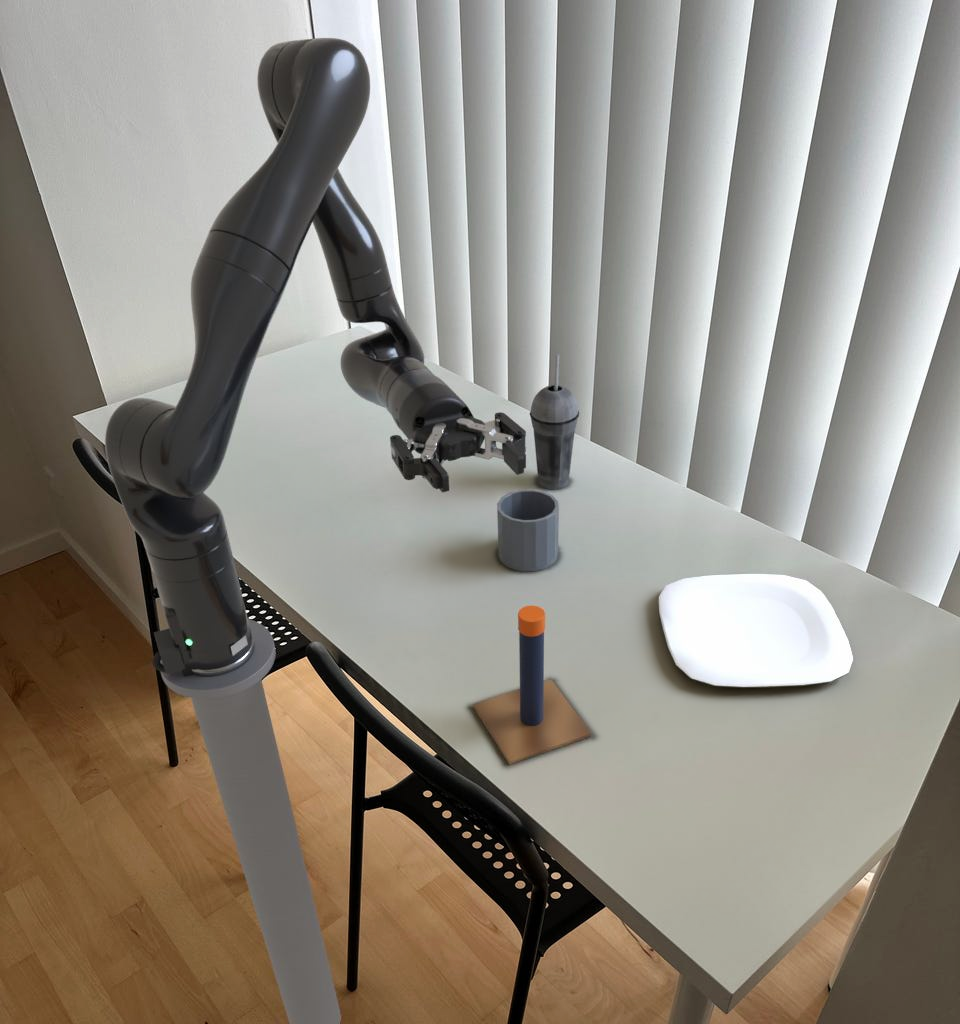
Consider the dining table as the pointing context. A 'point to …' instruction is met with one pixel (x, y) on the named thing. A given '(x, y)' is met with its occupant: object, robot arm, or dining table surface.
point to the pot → (528, 530)
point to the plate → (753, 631)
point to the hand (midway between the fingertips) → (484, 475)
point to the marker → (531, 663)
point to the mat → (530, 740)
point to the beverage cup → (554, 432)
